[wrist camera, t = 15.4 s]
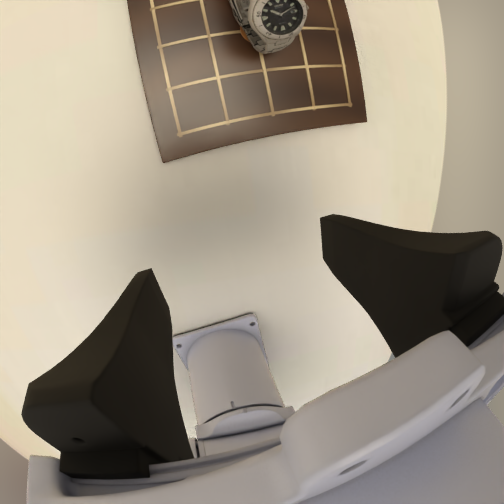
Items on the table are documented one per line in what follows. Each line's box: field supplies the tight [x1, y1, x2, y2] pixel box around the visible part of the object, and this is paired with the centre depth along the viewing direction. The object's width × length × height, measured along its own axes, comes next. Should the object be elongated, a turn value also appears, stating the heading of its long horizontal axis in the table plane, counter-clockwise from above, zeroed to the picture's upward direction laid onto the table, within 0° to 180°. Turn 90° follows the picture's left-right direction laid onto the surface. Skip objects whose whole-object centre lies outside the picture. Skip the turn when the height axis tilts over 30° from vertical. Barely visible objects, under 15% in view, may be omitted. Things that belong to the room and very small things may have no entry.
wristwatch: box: [229, 0, 309, 54], centre depth 11 cm, size 4×6×5 cm, turn 25°
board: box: [127, 0, 367, 163], centre depth 14 cm, size 15×15×1 cm
